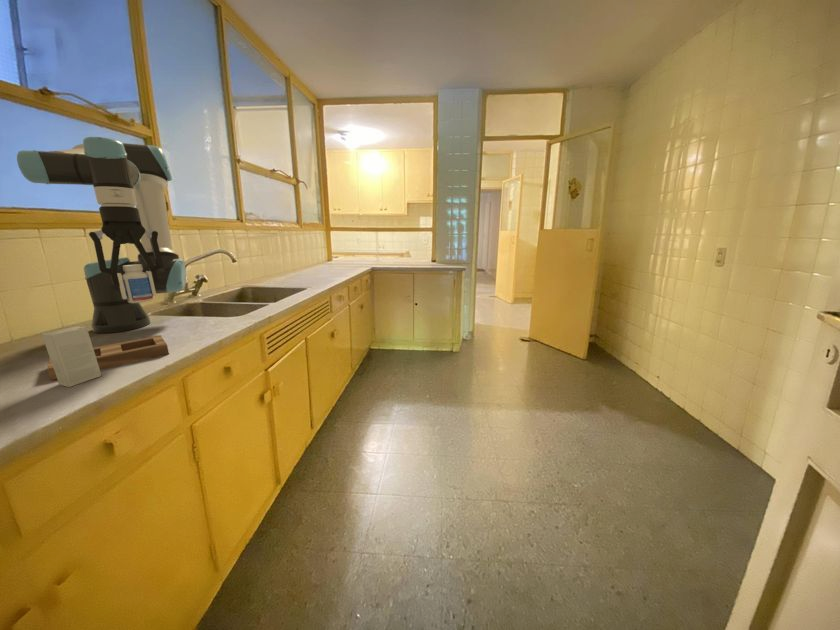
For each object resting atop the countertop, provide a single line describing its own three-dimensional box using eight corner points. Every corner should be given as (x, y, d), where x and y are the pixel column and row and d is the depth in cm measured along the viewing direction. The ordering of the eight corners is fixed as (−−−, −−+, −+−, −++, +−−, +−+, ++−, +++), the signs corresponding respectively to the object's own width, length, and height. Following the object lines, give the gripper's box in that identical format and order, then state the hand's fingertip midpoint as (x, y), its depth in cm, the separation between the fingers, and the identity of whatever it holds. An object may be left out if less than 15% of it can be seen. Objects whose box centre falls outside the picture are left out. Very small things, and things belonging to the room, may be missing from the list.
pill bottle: (158, 299, 92) (151, 263, 90) (141, 303, 87) (132, 266, 85) (140, 299, 93) (132, 264, 90) (122, 303, 87) (113, 266, 85)
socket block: (54, 366, 83) (50, 355, 82) (162, 344, 98) (160, 335, 97) (50, 380, 75) (47, 368, 75) (169, 353, 90) (166, 344, 90)
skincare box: (92, 373, 79) (77, 325, 76) (102, 376, 77) (88, 327, 74) (57, 384, 73) (40, 333, 70) (67, 388, 72) (50, 335, 69)
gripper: (66, 203, 75) (93, 304, 81) (166, 206, 88) (183, 293, 93) (66, 206, 80) (91, 300, 86) (160, 208, 93) (177, 290, 98)
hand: (139, 296), depth 89 cm, fingers closed on pill bottle, 5 cm apart
